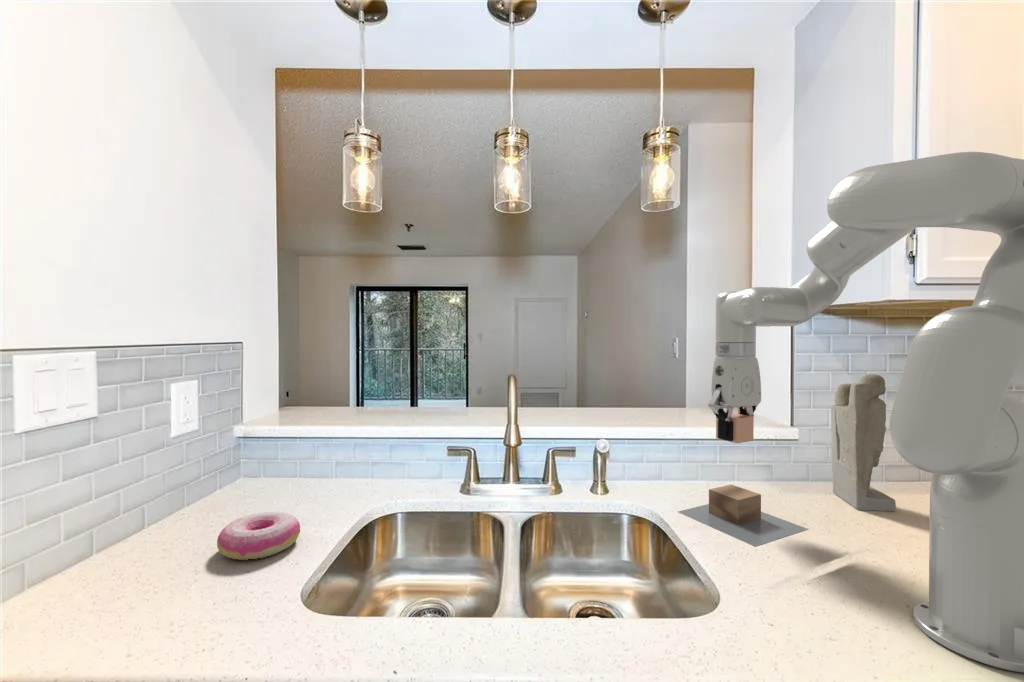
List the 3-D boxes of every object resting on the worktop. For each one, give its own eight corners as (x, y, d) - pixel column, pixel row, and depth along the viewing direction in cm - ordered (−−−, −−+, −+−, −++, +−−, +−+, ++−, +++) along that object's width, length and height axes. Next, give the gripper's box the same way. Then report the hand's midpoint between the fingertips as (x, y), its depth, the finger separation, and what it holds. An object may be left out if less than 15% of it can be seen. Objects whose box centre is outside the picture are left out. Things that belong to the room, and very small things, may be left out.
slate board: (808, 534, 88) (808, 529, 88) (755, 552, 81) (755, 546, 81) (727, 503, 104) (727, 499, 104) (677, 516, 97) (677, 511, 97)
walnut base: (760, 518, 93) (761, 494, 93) (738, 525, 90) (738, 500, 90) (731, 507, 100) (731, 484, 100) (708, 512, 97) (708, 489, 97)
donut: (271, 568, 76) (270, 539, 76) (197, 565, 78) (197, 536, 78) (313, 533, 90) (313, 508, 90) (250, 531, 91) (250, 506, 91)
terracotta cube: (753, 440, 94) (753, 416, 94) (737, 443, 91) (737, 418, 91) (732, 435, 98) (732, 412, 98) (716, 438, 96) (716, 414, 96)
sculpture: (904, 517, 96) (906, 376, 96) (861, 514, 98) (862, 375, 98) (865, 493, 111) (866, 370, 111) (828, 490, 113) (828, 370, 112)
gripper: (722, 352, 87) (722, 446, 88) (778, 351, 95) (777, 437, 95) (691, 351, 94) (691, 438, 94) (745, 349, 102) (745, 430, 102)
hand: (734, 437), depth 95 cm, fingers closed on terracotta cube, 5 cm apart
